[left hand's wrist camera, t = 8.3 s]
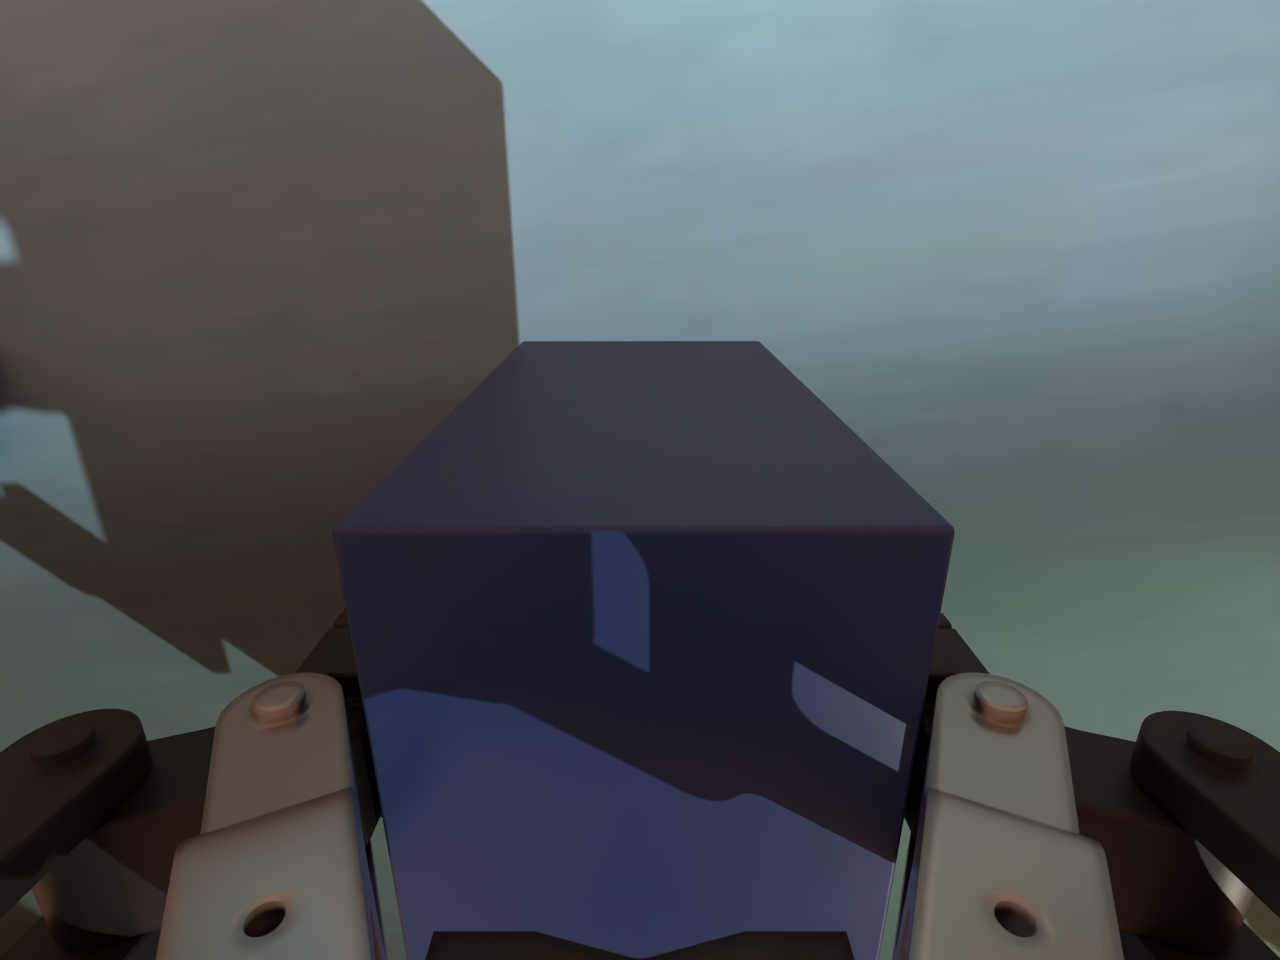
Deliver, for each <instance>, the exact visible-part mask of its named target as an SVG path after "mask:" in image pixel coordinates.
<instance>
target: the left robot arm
mask: <svg viewBox="0 0 1280 960" xmlns="http://www.w3.org/2000/svg"><path fill="white" fill-rule="evenodd" d="M380 817H382V811H381V806H380V800H379V794H378V788H377V783H376V777H375V771H374V766H373V760H372V754H371V748H370V743H369V737H368V731H367V726H366V720H365V714H364V709H363V703H362V697H361V691H360V686H359V680H358V674H357V669H356V663H355V657H354V651H353V646H352V640H351V634H350V629H349V623H348V617H347V611H346V608H345V612H342V613H341V614H340V615H339V617H338V618H337V619H336V621H335V622H334V623H333V628H329V630H328V631H327V632H326V634H325V635H324V636H323V638H322V639H321V640H320V641H319V643H318V644H317V645H316V647H315V648H314V649H313V651H312V652H311V653H310V654H309V656H308V657H307V658H306V660H305V661H304V662H303V664H302V665H301V666H300V667H299V669H298V670H297V671H296V673H295V674H288V675H283V676H279V677H276V678H273V679H270V680H267V681H264V682H262V683H259V684H257V685H255V686H253V687H251V688H249V689H248V690H246V691H244V692H243V693H241V694H240V695H238V696H237V697H236V698H234V699H233V700H232V701H231V702H230V703H229V704H228V705H227V706H226V707H225V708H224V709H223V710H222V712H221V713H220V715H219V717H218V719H217V722H216V726H215V727H212V728H208V729H203V730H198V731H194V732H189V733H184V734H179V735H175V736H170V737H165V738H160V739H155V740H151V741H147V739H146V736H145V733H144V730H143V727H142V724H141V721H140V719H139V718H138V716H136V715H135V714H134V713H132V712H129V711H127V710H121V709H99V710H93V711H87V712H83V713H79V714H75V715H71V716H68V717H65V718H62V719H59V720H57V721H54V722H52V723H49V724H47V725H45V726H43V727H41V728H39V729H36V730H34V731H33V732H31V733H29V734H27V735H25V736H24V737H22V738H21V739H19V740H18V741H16V742H14V743H13V744H11V745H10V746H9V747H7V748H6V749H4V750H3V751H2V752H0V918H1V917H2V916H3V915H4V914H5V913H6V912H7V911H8V910H9V909H10V908H11V907H12V906H13V905H14V904H16V903H17V902H18V901H19V900H20V899H21V898H22V897H23V896H24V895H25V894H26V893H27V892H28V891H29V890H30V889H32V891H33V893H34V896H35V898H36V900H37V902H38V905H39V907H40V909H41V912H42V914H43V916H42V917H41V918H40V919H39V920H38V921H37V922H36V923H35V924H34V925H33V926H32V927H31V928H30V929H29V930H28V931H27V932H26V933H25V934H24V935H23V936H22V937H21V938H20V939H19V940H18V941H17V942H16V943H15V944H14V945H13V946H12V947H11V948H10V949H9V950H8V951H7V952H6V953H5V954H4V955H3V956H2V957H1V958H0V960H388V957H387V950H386V943H385V936H384V928H383V921H382V914H381V907H380V900H379V892H378V885H377V878H376V871H375V864H374V856H373V851H372V845H371V840H370V838H371V836H372V834H373V832H374V829H375V827H376V825H377V822H378V820H379V818H380ZM904 819H906V821H907V824H908V826H909V828H910V830H911V834H910V840H909V845H908V850H907V856H906V863H905V871H904V878H903V885H902V892H901V899H900V907H899V914H898V921H897V928H896V935H895V943H894V950H893V957H892V960H1280V958H1279V957H1278V956H1277V955H1276V954H1275V953H1274V952H1273V951H1272V950H1271V949H1270V948H1269V947H1268V946H1267V945H1266V944H1265V943H1264V942H1263V941H1262V940H1261V939H1260V938H1259V937H1258V936H1257V935H1256V934H1255V933H1254V932H1253V931H1252V930H1251V929H1250V928H1249V927H1248V926H1247V925H1246V924H1245V923H1244V922H1243V920H1244V918H1245V915H1246V913H1247V911H1248V909H1249V906H1250V904H1251V902H1252V900H1253V897H1254V895H1256V896H1257V897H1258V898H1259V899H1260V900H1261V901H1262V902H1263V903H1264V904H1266V905H1267V906H1268V907H1269V908H1270V909H1271V910H1272V911H1273V912H1274V913H1275V914H1276V915H1277V916H1278V917H1279V918H1280V752H1278V751H1277V750H1276V749H1274V748H1273V747H1271V746H1270V745H1268V744H1267V743H1265V742H1264V741H1262V740H1261V739H1259V738H1257V737H1255V736H1254V735H1252V734H1250V733H1248V732H1246V731H1244V730H1242V729H1240V728H1238V727H1236V726H1233V725H1231V724H1228V723H1226V722H1223V721H1220V720H1217V719H1214V718H1211V717H1208V716H1204V715H1200V714H1195V713H1189V712H1182V711H1162V712H1156V713H1154V714H1151V715H1149V716H1148V717H1146V718H1145V719H1144V721H1143V723H1142V725H1141V728H1140V731H1139V734H1138V737H1137V741H1136V742H1133V741H1128V740H1123V739H1118V738H1114V737H1109V736H1104V735H1099V734H1094V733H1090V732H1085V731H1080V730H1076V729H1072V728H1068V727H1065V726H1064V722H1063V719H1062V717H1061V715H1060V713H1059V712H1058V710H1057V709H1056V708H1055V707H1054V706H1053V705H1052V704H1051V703H1050V702H1049V701H1048V700H1047V699H1046V698H1044V697H1043V696H1042V695H1040V694H1039V693H1037V692H1036V691H1034V690H1032V689H1031V688H1029V687H1027V686H1025V685H1023V684H1021V683H1018V682H1016V681H1013V680H1010V679H1007V678H1004V677H1001V676H997V675H992V674H989V672H988V671H987V670H986V669H985V667H984V666H983V665H982V663H981V662H980V661H979V660H978V658H977V657H976V656H975V654H974V653H973V652H972V651H971V649H970V648H969V647H968V645H967V644H966V643H965V642H964V640H963V639H962V638H961V636H960V635H959V634H958V633H957V631H956V630H955V629H952V627H951V624H950V622H949V621H948V620H947V618H946V617H945V616H944V615H943V613H940V617H939V623H938V628H937V634H936V640H935V645H934V651H933V657H932V662H931V668H930V673H929V679H928V685H927V690H926V696H925V702H924V707H923V713H922V718H921V724H920V730H919V735H918V741H917V747H916V752H915V758H914V764H913V769H912V775H911V780H910V786H909V792H908V797H907V803H906V809H905V814H904ZM425 960H855V959H854V955H853V952H852V949H851V945H850V942H849V938H848V935H847V932H846V931H744V932H740V933H737V934H733V935H729V936H726V937H722V938H718V939H715V940H711V941H707V942H704V943H700V944H696V945H693V946H689V947H685V948H682V949H678V950H674V951H671V952H667V953H663V954H660V955H656V956H652V957H647V958H633V957H628V956H624V955H620V954H617V953H613V952H609V951H606V950H602V949H598V948H595V947H591V946H587V945H584V944H580V943H576V942H573V941H569V940H565V939H562V938H558V937H554V936H551V935H547V934H543V933H540V932H536V931H434V932H433V935H432V938H431V942H430V945H429V949H428V952H427V955H426V959H425Z"/></svg>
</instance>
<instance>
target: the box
mask: <svg viewBox="0 0 1280 960" xmlns="http://www.w3.org/2000/svg"><path fill="white" fill-rule="evenodd" d="M333 537H334V543H335V549H336V554H337V560H338V566H339V571H340V577H341V583H342V589H343V594H344V600H345V606H346V611H347V617H348V623H349V629H350V634H351V640H352V646H353V651H354V657H355V663H356V669H357V674H358V680H359V686H360V691H361V697H362V703H363V709H364V714H365V720H366V726H367V731H368V737H369V743H370V748H371V754H372V760H373V766H374V771H375V777H376V783H377V788H378V794H379V800H380V806H381V811H382V817H383V823H384V828H385V834H386V840H387V846H388V851H389V857H390V863H391V868H392V874H393V880H394V886H395V891H396V897H397V903H398V908H399V914H400V920H401V926H402V931H403V937H404V943H405V948H406V954H407V960H425V959H426V955H427V952H428V949H429V945H430V942H431V938H432V935H433V932H434V931H536V932H540V933H543V934H547V935H551V936H554V937H558V938H562V939H565V940H569V941H573V942H576V943H580V944H584V945H587V946H591V947H595V948H598V949H602V950H606V951H609V952H613V953H617V954H620V955H624V956H628V957H633V958H647V957H652V956H656V955H660V954H663V953H667V952H671V951H674V950H678V949H682V948H685V947H689V946H693V945H696V944H700V943H704V942H707V941H711V940H715V939H718V938H722V937H726V936H729V935H733V934H737V933H740V932H744V931H846V932H847V935H848V938H849V942H850V945H851V949H852V952H853V955H854V959H855V960H879V955H880V949H881V944H882V938H883V932H884V927H885V921H886V915H887V910H888V904H889V899H890V893H891V887H892V882H893V876H894V870H895V865H896V859H897V854H898V848H899V842H900V837H901V831H902V825H903V820H904V814H905V809H906V803H907V797H908V792H909V786H910V780H911V775H912V769H913V764H914V758H915V752H916V747H917V741H918V735H919V730H920V724H921V718H922V713H923V707H924V702H925V696H926V690H927V685H928V679H929V673H930V668H931V662H932V657H933V651H934V645H935V640H936V634H937V628H938V623H939V617H940V612H941V606H942V600H943V595H944V589H945V583H946V578H947V572H948V567H949V561H950V555H951V550H952V544H953V538H954V529H953V526H952V525H951V524H950V523H949V522H947V521H946V520H945V519H944V518H943V517H942V516H941V515H940V514H939V513H938V512H937V511H936V510H935V509H934V508H933V507H932V506H931V505H930V504H929V503H928V502H927V501H925V500H924V499H923V498H922V497H921V496H920V495H919V494H918V493H917V492H916V491H915V490H914V489H913V488H912V487H911V486H910V485H909V484H908V483H907V482H906V481H905V480H904V479H902V478H901V477H900V476H899V475H898V474H897V473H896V472H895V471H894V470H893V469H892V468H891V467H890V466H889V465H888V464H887V463H886V462H885V461H884V460H883V459H882V458H880V457H879V456H878V455H877V454H876V453H875V452H874V451H873V450H872V449H871V448H870V447H869V446H868V445H867V444H866V443H865V442H864V441H863V440H862V439H861V438H860V437H858V436H857V435H856V434H855V433H854V432H853V431H852V430H851V429H850V428H849V427H848V426H847V425H846V424H845V423H844V422H843V421H842V420H841V419H840V418H839V417H838V416H836V415H835V414H834V413H833V412H832V411H831V410H830V409H829V408H828V407H827V406H826V405H825V404H824V403H823V402H822V401H821V400H820V399H819V398H818V397H817V396H816V395H814V394H813V393H812V392H811V391H810V390H809V389H808V388H807V387H806V386H805V385H804V384H803V383H802V382H801V381H800V380H799V379H798V378H797V377H796V376H795V375H794V374H793V373H791V372H790V371H789V370H788V369H787V368H786V367H785V366H784V365H783V364H782V363H781V362H780V361H779V360H778V359H777V358H776V357H775V356H774V355H773V354H772V353H771V352H769V351H768V350H767V349H766V348H765V347H764V346H763V345H762V344H761V343H760V342H758V341H524V342H522V343H521V344H520V345H519V346H518V347H517V348H516V349H515V350H514V351H513V352H512V353H511V354H510V355H509V356H508V357H507V358H506V359H505V360H504V361H503V362H502V363H501V364H500V365H499V366H498V367H497V368H496V369H495V370H494V371H493V372H492V373H491V374H490V375H489V376H488V377H487V378H486V379H485V380H484V381H483V382H482V383H481V384H480V385H479V386H478V387H477V388H476V389H475V390H474V391H473V392H471V393H470V394H469V395H468V396H467V397H466V398H465V399H464V400H463V401H462V402H461V403H460V404H459V405H458V406H457V407H456V408H455V409H454V410H453V411H452V412H451V413H450V414H449V415H448V416H447V417H446V418H445V419H444V420H443V421H442V422H441V423H440V424H439V425H438V426H437V427H436V428H435V429H434V430H433V431H432V432H431V433H430V434H429V435H428V436H427V437H426V438H425V439H424V440H423V441H422V442H421V443H420V444H419V445H418V446H417V447H416V448H415V449H413V450H412V451H411V452H410V453H409V454H408V455H407V456H406V457H405V458H404V459H403V460H402V461H401V462H400V463H399V464H398V465H397V466H396V467H395V468H394V469H393V470H392V471H391V472H390V473H389V474H388V475H387V476H386V477H385V478H384V479H383V480H382V481H381V482H380V483H379V484H378V485H377V486H376V487H375V488H374V489H373V490H372V491H371V492H370V493H369V494H368V495H367V496H366V497H365V498H364V499H363V500H362V501H361V502H360V503H359V504H358V505H356V506H355V507H354V508H353V509H352V510H351V511H350V512H349V513H348V514H347V515H346V516H345V517H344V518H343V519H342V520H341V521H340V522H339V523H338V524H337V525H336V526H335V527H334V530H333Z"/></svg>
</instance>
